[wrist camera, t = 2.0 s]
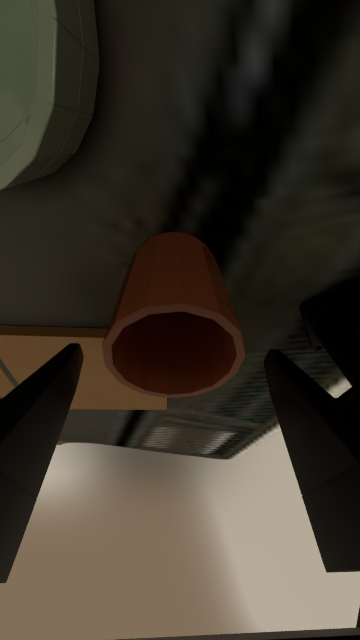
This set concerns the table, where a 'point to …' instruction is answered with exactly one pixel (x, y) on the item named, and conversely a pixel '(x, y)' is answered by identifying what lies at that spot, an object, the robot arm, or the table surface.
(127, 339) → the cup
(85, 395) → the notebook
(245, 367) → the table surface
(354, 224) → the table surface
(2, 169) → the bowl
